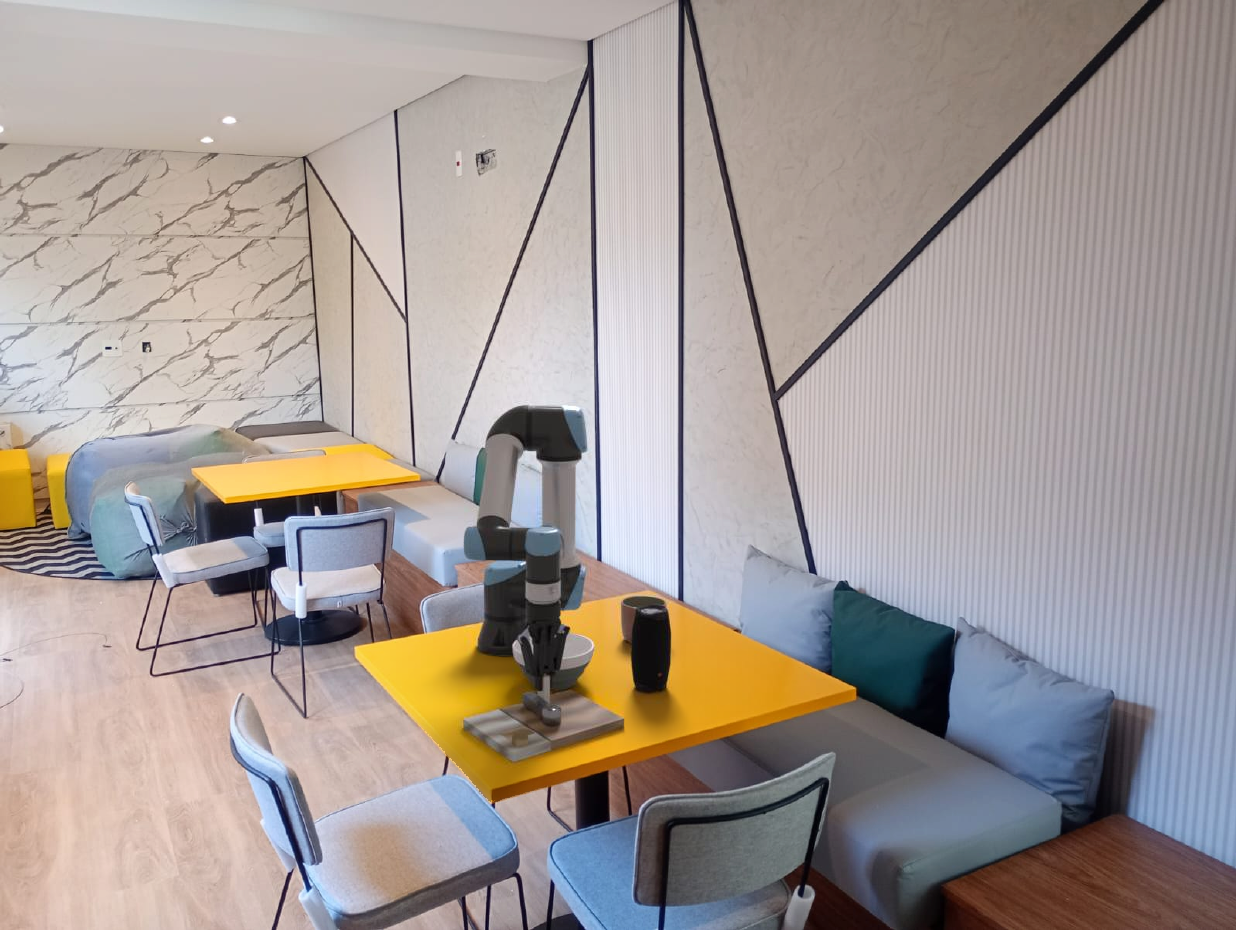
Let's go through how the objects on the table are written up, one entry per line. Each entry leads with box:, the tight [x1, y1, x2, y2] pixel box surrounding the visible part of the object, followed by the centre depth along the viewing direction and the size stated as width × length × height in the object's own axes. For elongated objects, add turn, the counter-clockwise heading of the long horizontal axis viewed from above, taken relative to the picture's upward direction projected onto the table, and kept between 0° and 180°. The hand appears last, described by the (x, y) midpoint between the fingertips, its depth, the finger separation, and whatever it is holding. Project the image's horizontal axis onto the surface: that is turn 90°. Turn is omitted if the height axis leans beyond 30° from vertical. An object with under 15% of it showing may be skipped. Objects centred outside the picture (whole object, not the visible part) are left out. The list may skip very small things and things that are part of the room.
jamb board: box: [462, 688, 625, 763], centre depth 207 cm, size 20×28×5 cm
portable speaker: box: [630, 604, 672, 694], centre depth 229 cm, size 9×9×20 cm
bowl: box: [513, 632, 595, 692], centre depth 232 cm, size 20×20×10 cm
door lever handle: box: [521, 690, 561, 726], centre depth 208 cm, size 14×4×3 cm, turn 32°
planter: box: [620, 595, 667, 644], centre depth 263 cm, size 12×12×11 cm
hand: (543, 703), depth 212 cm, fingers closed
